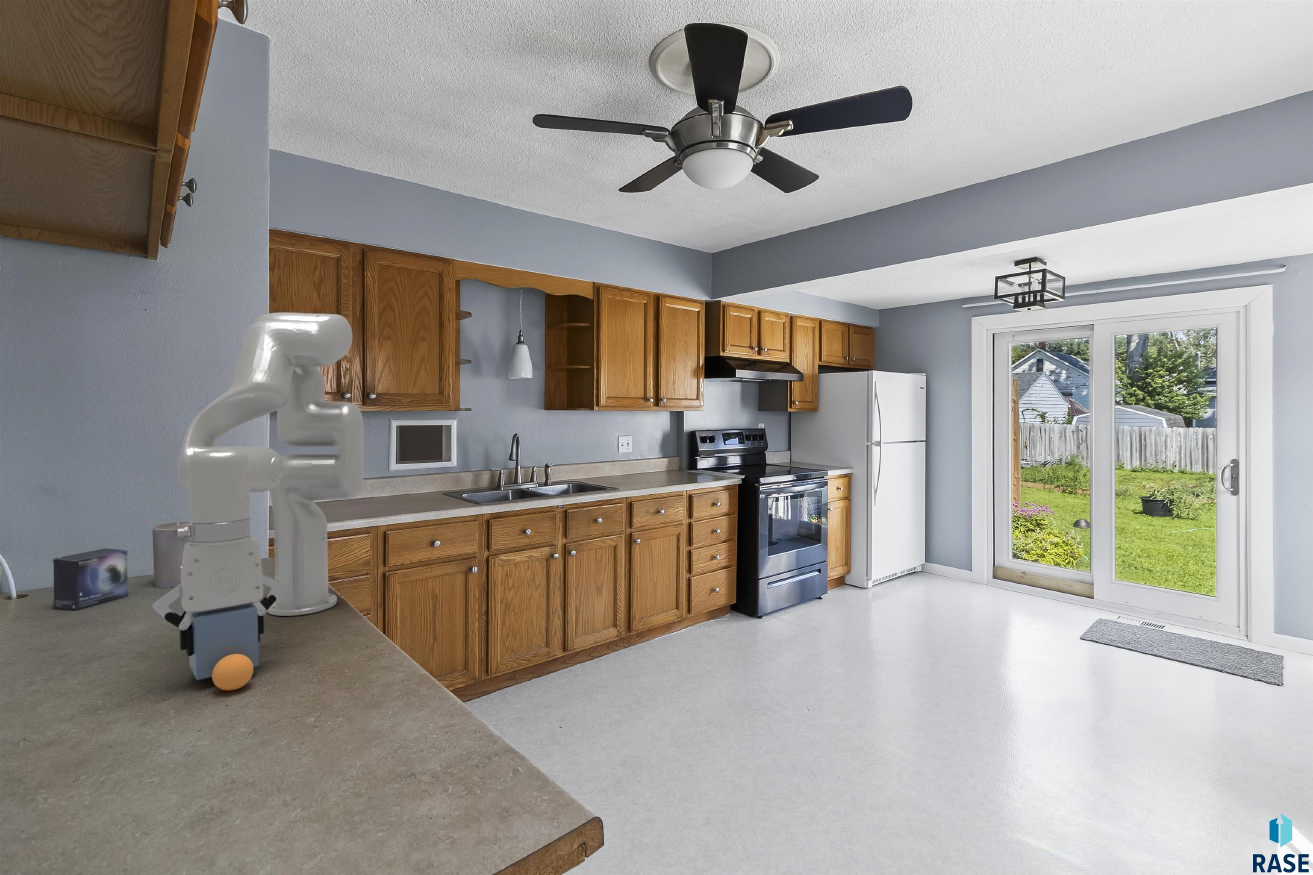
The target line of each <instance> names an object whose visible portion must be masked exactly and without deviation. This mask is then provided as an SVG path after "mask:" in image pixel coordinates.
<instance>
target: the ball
mask: <svg viewBox="0 0 1313 875" xmlns="http://www.w3.org/2000/svg"><path fill="white" fill-rule="evenodd" d="M253 674H254V667H253V663H252V661H251V660H250V659H249V658H248V657H247V656H245V655H242V654H232V655H228V656H226V657H224V658H222V659H221V660H220V661H219V662H218V663H217V664H216V665H215V667H214V669H213V672H212V677H211V678H212V682H213V684H214V685H215V686H216V687H217V689H221V690H223V691H235V690H238V689H240V688H242V687H244V686H245V685H246V684H247V683H249V681H250V680H251V678H252V677H253Z"/></svg>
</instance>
